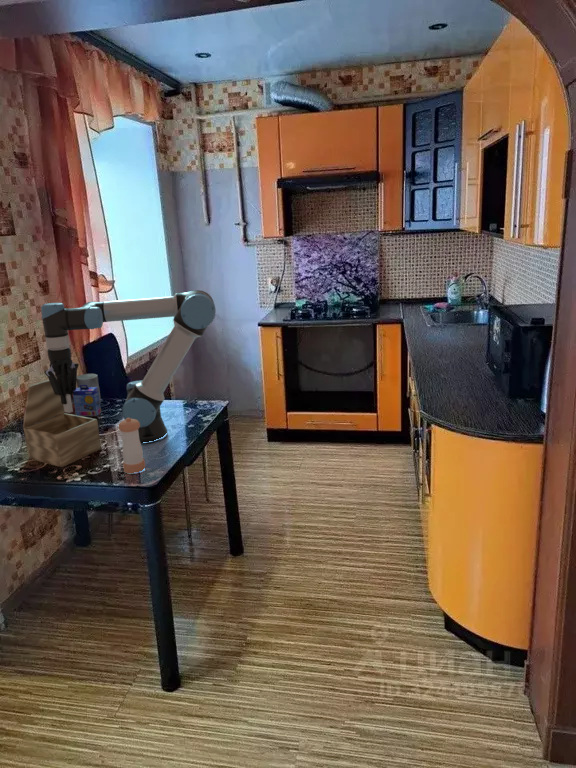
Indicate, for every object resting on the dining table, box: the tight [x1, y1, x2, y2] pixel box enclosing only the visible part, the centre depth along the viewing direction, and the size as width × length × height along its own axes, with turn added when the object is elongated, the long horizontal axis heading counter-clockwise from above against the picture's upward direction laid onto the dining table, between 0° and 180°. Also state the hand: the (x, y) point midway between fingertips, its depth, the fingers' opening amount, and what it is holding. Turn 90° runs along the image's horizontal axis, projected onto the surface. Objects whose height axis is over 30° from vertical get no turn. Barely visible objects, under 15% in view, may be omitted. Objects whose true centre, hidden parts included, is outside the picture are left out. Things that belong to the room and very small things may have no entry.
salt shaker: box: [118, 418, 146, 473], centre depth 188 cm, size 7×7×19 cm
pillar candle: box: [76, 373, 102, 404], centre depth 264 cm, size 10×10×15 cm
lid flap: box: [22, 378, 64, 428], centre depth 204 cm, size 18×18×1 cm
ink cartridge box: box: [73, 385, 102, 417], centre depth 249 cm, size 10×6×14 cm, turn 88°
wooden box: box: [22, 413, 102, 468], centre depth 206 cm, size 18×18×12 cm
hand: (68, 411), depth 200 cm, fingers closed
